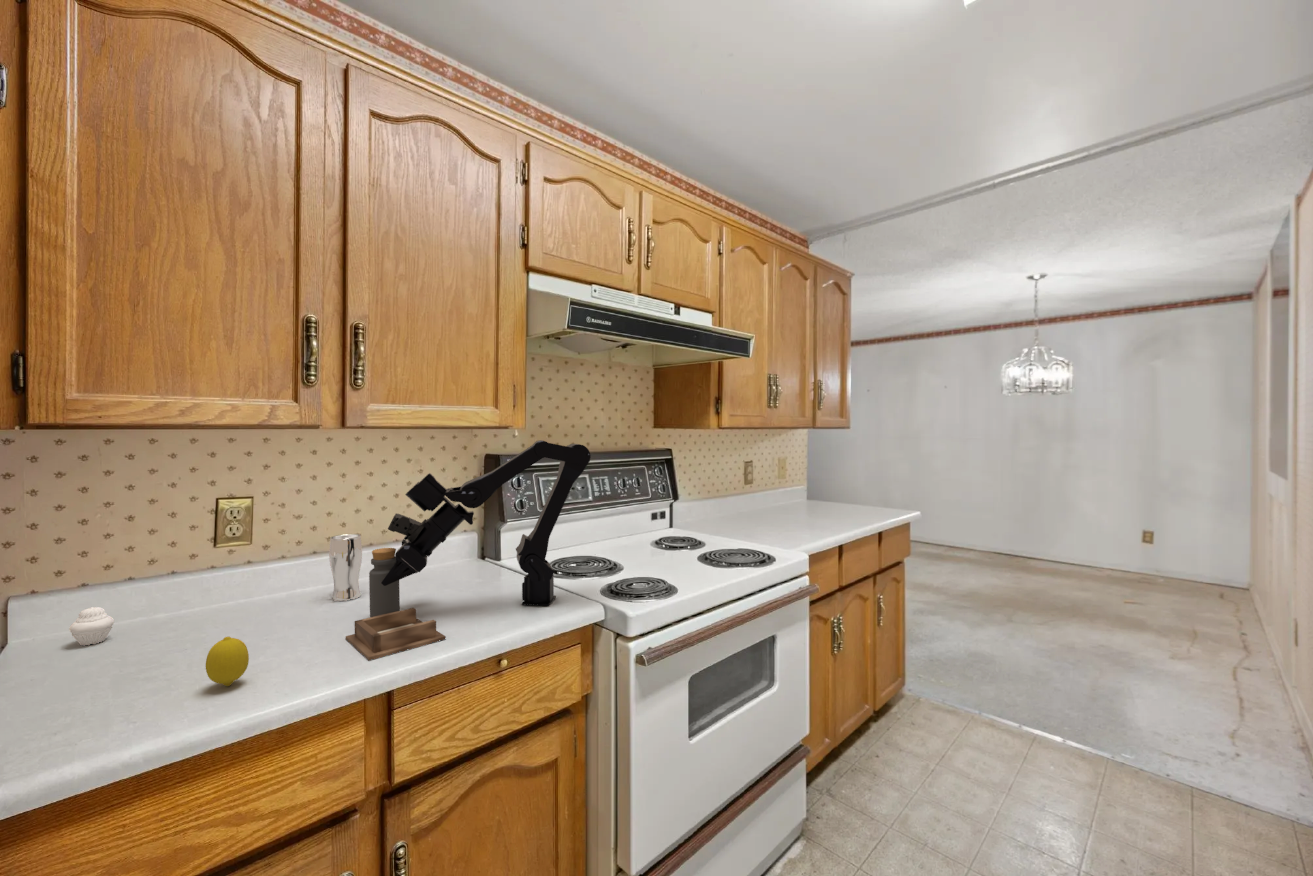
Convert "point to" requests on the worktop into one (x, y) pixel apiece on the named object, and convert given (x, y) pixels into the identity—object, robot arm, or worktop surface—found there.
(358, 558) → the beer glass
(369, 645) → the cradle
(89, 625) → the muffin
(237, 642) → the lemon
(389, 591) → the bottle
